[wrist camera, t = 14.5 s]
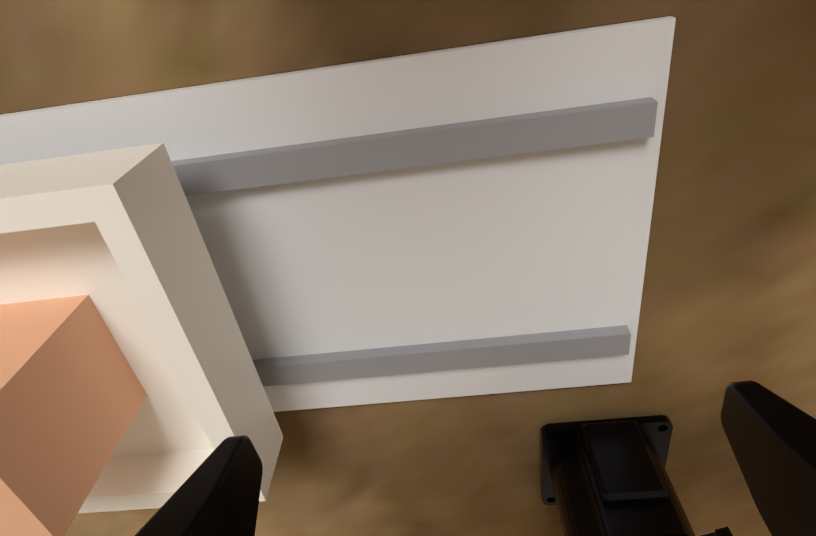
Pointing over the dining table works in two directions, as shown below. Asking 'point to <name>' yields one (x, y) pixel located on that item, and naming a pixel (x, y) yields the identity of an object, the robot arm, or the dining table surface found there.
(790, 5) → the dining table surface
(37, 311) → the block
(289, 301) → the track
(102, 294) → the cream rimmed tray
